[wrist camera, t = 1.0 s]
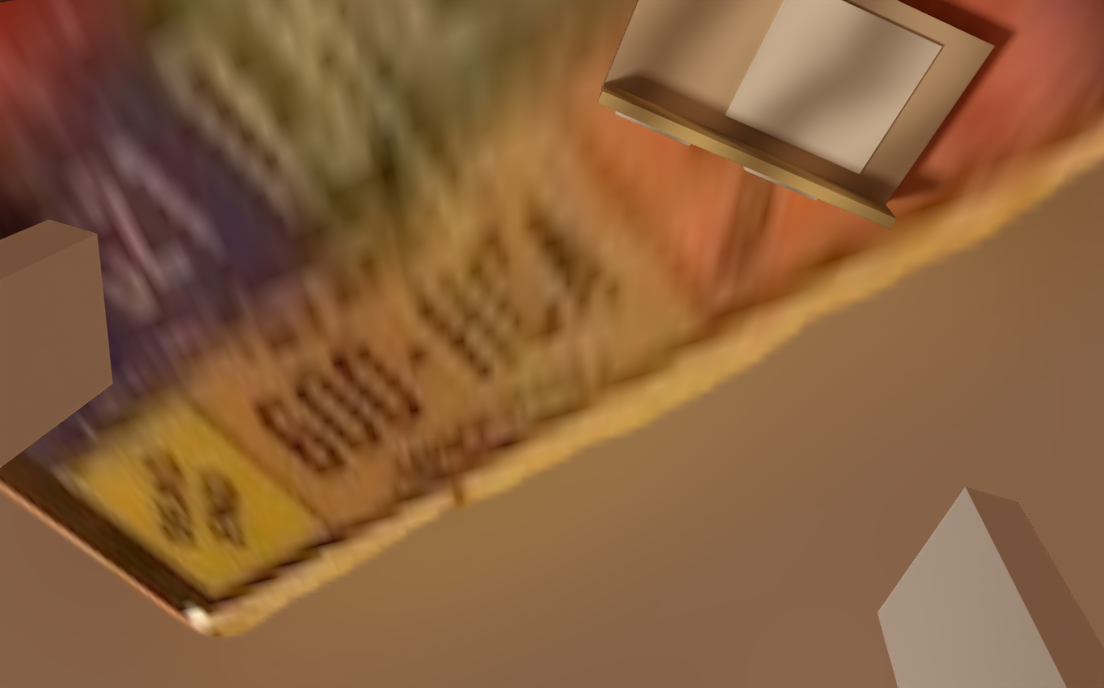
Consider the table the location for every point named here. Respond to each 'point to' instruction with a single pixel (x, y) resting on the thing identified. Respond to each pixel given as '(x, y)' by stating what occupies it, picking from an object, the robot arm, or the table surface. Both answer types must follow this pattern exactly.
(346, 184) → the table surface
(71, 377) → the robot arm
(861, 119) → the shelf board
